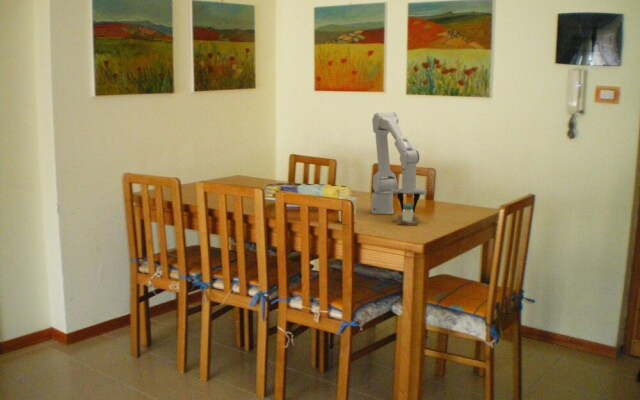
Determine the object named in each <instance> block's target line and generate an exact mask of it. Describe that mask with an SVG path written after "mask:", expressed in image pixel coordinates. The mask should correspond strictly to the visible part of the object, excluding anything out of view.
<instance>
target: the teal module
mask: <svg viewBox="0 0 640 400" xmlns="http://www.w3.org/2000/svg"><path fill="white" fill-rule="evenodd" d="M413 205H414V203H409V202H408V203H404V202H403V209H413Z"/></svg>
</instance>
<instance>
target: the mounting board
mask: <svg viewBox="0 0 640 400" xmlns="http://www.w3.org/2000/svg"><path fill="white" fill-rule="evenodd" d="M402 218H403V214H399V215H398V219H397V222H396V223H397V224H396V225H397V226H410V227H411V226H415V227H417V226H418V222H419V221H418V220H419V215H418V214H417V215H415V214H413V220H412V221H402Z"/></svg>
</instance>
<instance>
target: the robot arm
mask: <svg viewBox="0 0 640 400" xmlns="http://www.w3.org/2000/svg"><path fill="white" fill-rule="evenodd" d="M397 114H398V113H396V112H376V113H374V114H373V117H372V118H371V119H372V121H371V123H372V129H373V130H372V131H373V133H375V134H374V135H375V142H376V143H375V144H376V156H377V157H376V158H377V167H378V170H377V172H376V173H375V174H374V175H373V176H372V179H373V180H372V189H373V192H372V194H371V206H370V208H371V212H370V213H371V214H372V215H373V214H377V215H378V214H379V215H382V214H383V215H393V214H394V211H395V210H394V207H393V206H394V195H396V196H397V199H398V201H399V204H400V208H401V212H402V213H403V205H404V195H413V213H415V212H416V207H417V204H418V201H419V199H420V197H421V196H422V195H423V196H426V195H427V189H420V188H417V187H416V186H417V164H419V162H420V153H419V150H417V149H415V148H414V147H412V145H411V143H410V141H409V139H408V138H407V137H406V136H403V133H402V131H401V129H400V126H399V117H398V115H397ZM389 133H390V134H391V136H392V137H393V139H394V146H395V148H396V150H397V151H398V154H399V162H400V168H401V169H402V170H401V171H402V172H401V173H402V174H401V188H398V181H397V178H396V174H395V172H393V171H391V165H390V153H389V151H390V150H389V140H388V139H389V138H388V135H389Z"/></svg>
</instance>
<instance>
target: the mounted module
mask: <svg viewBox="0 0 640 400" xmlns="http://www.w3.org/2000/svg"><path fill="white" fill-rule="evenodd" d="M402 215H403V218H402V221H412V220H413V215H414V212H413V209H403V212H402Z"/></svg>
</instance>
